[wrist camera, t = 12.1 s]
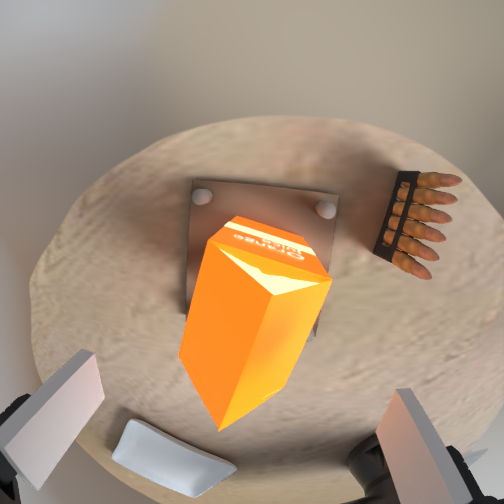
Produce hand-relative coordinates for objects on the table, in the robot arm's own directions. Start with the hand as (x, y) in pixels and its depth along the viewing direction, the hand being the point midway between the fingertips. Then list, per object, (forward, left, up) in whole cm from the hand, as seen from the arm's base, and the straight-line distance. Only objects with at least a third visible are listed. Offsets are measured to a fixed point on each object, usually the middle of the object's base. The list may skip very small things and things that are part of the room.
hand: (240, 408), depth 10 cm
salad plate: (-43, +13, -24) cm, 51 cm away
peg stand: (0, 0, -23) cm, 23 cm away
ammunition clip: (+8, -15, -23) cm, 29 cm away
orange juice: (0, 0, -22) cm, 22 cm away
